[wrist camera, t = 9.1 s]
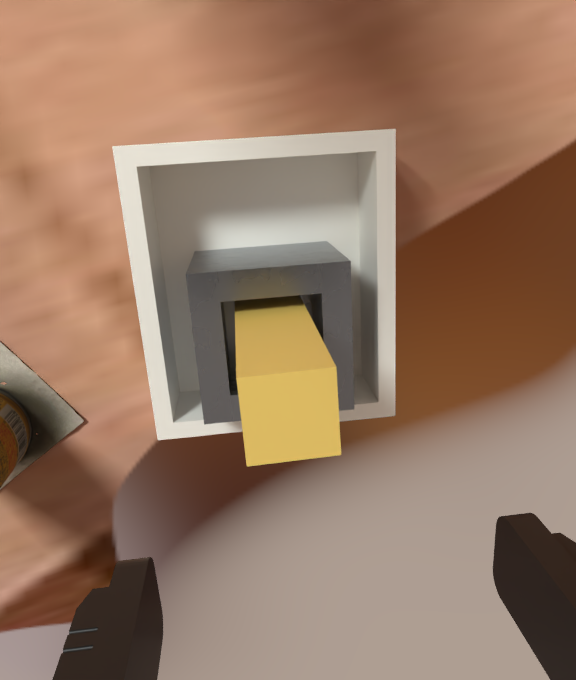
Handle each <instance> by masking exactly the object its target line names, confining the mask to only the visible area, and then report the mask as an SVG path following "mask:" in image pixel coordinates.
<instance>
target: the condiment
mask: <svg viewBox="0 0 576 680" xmlns="http://www.w3.org/2000/svg"><path fill="white" fill-rule="evenodd" d="M1 382H6V383H7V384H5V385H2V384H0V489H1V488H3V487H4V486H5V485H6V484H7V483H9V482H10V481H11V480H12V479H13V478H15V477H16V476H17V475H18V474H20V473H21V472H22V471H23V470H24V469H26V468H27V467H28V466H29V465H31V464H32V463H33V462H34V461H35V460H37V459H38V458H39V457H40V456H42V455H43V454H44V453H46V452H47V451H48V450H49V449H50V448H52V447H53V446H54V445H55V444H57V443H58V442H59V441H60V440H61V439H63V438H64V437H65V436H66V435H67V434H69V433H70V432H71V431H73V430H74V429H75V428H76V427H77V426H79V425H80V424H81V423H82V422H84V420H83V419H82V418H81V417H80V416H79V415H78V414H77V413H75V411H74V410H73V409H72V408H71V407H70V406H69V405H68V404H67V403H66V402H65V401H64V400H63V399H62V398H61V397H59V396H58V395H57V393H56V392H55V391H54V390H53V389H51V388H50V387H49V386H48V385H47V384H46V383H45V382H44V381H43V380H42V379H40V378H39V377H38V375H37V374H36V373H35V372H33V371H32V370H31V369H29V368H28V367H27V366H26V365H25V364H24V363H23V362H22V361H21V360H20V359H19V358H18V357H17V356H16V355H15V354H13V353H12V352H11V351H10V350H9V349H7V348H6V347H5V346H4V345H3V344H2V343H1V342H0V383H1ZM36 433H38V435H36Z"/></svg>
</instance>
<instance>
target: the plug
mask: <svg viewBox="0 0 576 680" xmlns="http://www.w3.org/2000/svg"><path fill="white" fill-rule="evenodd" d="M234 302H235V344H236V380H237V388H238V397H239V405H240V413H241V422H242V430H243V438H244V447H245V455H246V464H247V466H255V465H263V464H270V463H279V462H288V461H295V460H303V459H312V458H320V457H328V456H336V455H341V441H340V426H339V425H340V424H339V405H338V387H337V369H336V365H335V363H334V361H333V359H332V357H331V355H330V353H329V352H328V350H327V348H326V346H325V344H324V342H323V340H322V338H321V336H320V334H319V332H318V330H317V328H316V326H315V324H314V322H313V320H312V318H311V316H310V314H309V313H308V311H307V309H306V307H305V305H304V303H303V301H302V299H301V297H300V295H296V296H285V297H273V298H261V299H249V300H237V301H234Z"/></svg>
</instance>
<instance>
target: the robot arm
mask: <svg viewBox="0 0 576 680" xmlns="http://www.w3.org/2000/svg"><path fill="white" fill-rule="evenodd" d="M493 576H494V581H495V586H496V589H497V591H498V594H499V596H500V598H501V600H502V601H503V603H504V605H505V606H506V608H507V609H508V611H509V613H510V614H511V616H512V618H513V619H514V621H515V622H516V624H517V626H518V627H519V629H520V631H521V632H522V634H523V636H524V637H525V639H526V641H527V642H528V644H529V645H530V647H531V649H532V650H533V652H534V654H535V655H536V657H537V658H538V660H539V662H540V663H541V665H542V667H543V668H544V670H545V671H546V673H547V674H548V676H549V678H550V680H576V543H575V542H574V541H572V540H570V539H569V538H567V537H566V536H564V535H563V534H561V533H554V534H551V533H550V531H549V530H548V529H547V528H546V527H545V526H544V524H543V523H542V522H541V521H540V520H539V519H538V517H536V515H534V514H532V513H526V514H517V515H509V516H501V517H499V518H498V520H497V524H496V534H495V549H494V561H493ZM162 639H163V615H162V607H161V601H160V596H159V590H158V584H157V578H156V574H155V567H154V562H153V559H152V558H151V557H148V558H140V559H132V560H123V561H118V562H117V563H116V565H115V569H114V572H113V576H112V579H111V583H110V586H109V587H105V588H97V589H92V591H91V592H90V593H89V594H88V596H87V597H86V598H85V599H84V600H83V602H82V603H81V604H80V605H79V607H78V608H77V609H76V612H75V615H74V618H73V621H72V624H71V627H70V630H69V635H68V636H67V639H66V642H65V645H64V648H63V653H62V654H61V656H60V659H59V662H58V665H57V668H56V671H55V674H54V677H53V680H157V676H158V669H159V662H160V655H161V646H162Z"/></svg>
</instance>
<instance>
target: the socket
mask: <svg viewBox="0 0 576 680" xmlns="http://www.w3.org/2000/svg"><path fill="white" fill-rule="evenodd" d="M186 281H187V289H188V297H189V305H190V313H191V322H192V330H193V338H194V346H195V354H196V362H197V370H198V378H199V386H200V395H201V403H202V411H203V419H204V424H214V423H224V422H234V421H241V413H240V405H239V397H238V388H237V380H236V344H235V302H234V301H237V300H249V299H261V298H273V297H285V296H296V295H300V297H301V299H302V301H303V303H304V305H305V307H306V309H307V311H308V313H309V314H310V316H311V318H312V320H313V322H314V324H315V326H316V328H317V330H318V332H319V334H320V336H321V338H322V340H323V342H324V344H325V346H326V348H327V350H328V352H329V353H330V355H331V357H332V359H333V361H334V363H335V365H336V369H337V387H338V405H339V411H343V410H353V409H354V372H353V332H352V292H351V261H350V260H349V259H348V258H347V257H345V256H344V255H343V254H342V253H341V252H339V251H338V250H337V249H336V248H335V247H333V246H332V245H331V244H330V243H329V242H327V241H321V242H308V243H295V244H282V245H269V246H256V247H243V248H230V249H217V250H204V251H195V252H194V255H193V257H192V260H191V262H190V265H189V267H188V270H187V272H186Z"/></svg>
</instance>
